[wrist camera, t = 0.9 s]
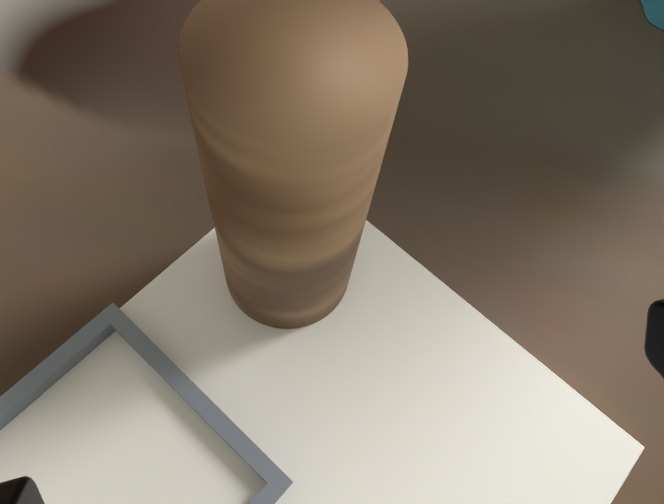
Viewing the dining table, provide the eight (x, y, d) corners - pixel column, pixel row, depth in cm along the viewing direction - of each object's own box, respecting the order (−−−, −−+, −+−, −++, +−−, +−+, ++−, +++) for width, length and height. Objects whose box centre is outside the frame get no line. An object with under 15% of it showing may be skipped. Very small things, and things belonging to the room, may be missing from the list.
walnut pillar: (374, 268, 24) (453, 51, 13) (290, 355, 22) (299, 186, 11) (286, 194, 25) (291, -61, 14) (199, 271, 23) (128, 44, 12)
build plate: (632, 450, 22) (657, 444, 21) (289, 1010, 15) (290, 1061, 14) (293, 170, 26) (294, 149, 25) (-99, 506, 19) (-130, 505, 18)
